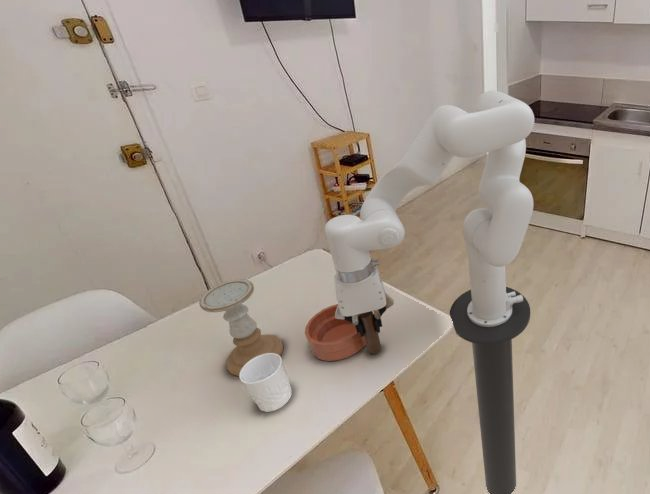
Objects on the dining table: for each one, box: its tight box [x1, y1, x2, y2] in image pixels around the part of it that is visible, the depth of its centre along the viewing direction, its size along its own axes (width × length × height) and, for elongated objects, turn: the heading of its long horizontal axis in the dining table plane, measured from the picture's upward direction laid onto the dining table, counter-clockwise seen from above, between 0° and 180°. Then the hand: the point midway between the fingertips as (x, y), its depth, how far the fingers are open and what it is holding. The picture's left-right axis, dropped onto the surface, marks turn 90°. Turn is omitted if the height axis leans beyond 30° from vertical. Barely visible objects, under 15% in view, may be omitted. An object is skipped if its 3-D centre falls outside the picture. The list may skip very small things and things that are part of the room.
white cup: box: [238, 353, 293, 413], centre depth 88 cm, size 8×8×10 cm
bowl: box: [304, 303, 367, 362], centre depth 103 cm, size 15×15×6 cm
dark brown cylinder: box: [359, 311, 382, 355], centre depth 98 cm, size 3×3×12 cm
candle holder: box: [199, 278, 284, 377], centre depth 96 cm, size 12×12×20 cm
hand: (370, 330), depth 98 cm, fingers closed on dark brown cylinder, 3 cm apart
